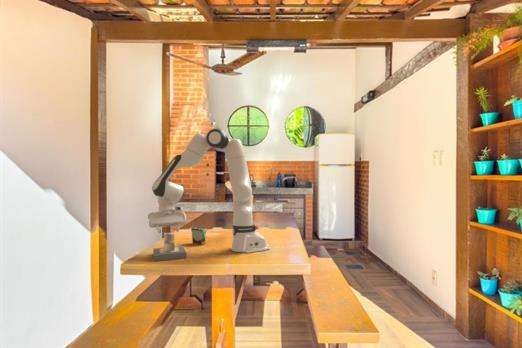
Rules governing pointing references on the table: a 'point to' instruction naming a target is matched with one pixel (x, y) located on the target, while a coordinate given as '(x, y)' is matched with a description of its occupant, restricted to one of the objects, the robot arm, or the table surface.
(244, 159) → the robot arm
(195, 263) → the table surface
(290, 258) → the table surface
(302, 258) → the table surface
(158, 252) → the base block
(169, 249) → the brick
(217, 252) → the table surface
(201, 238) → the food container
